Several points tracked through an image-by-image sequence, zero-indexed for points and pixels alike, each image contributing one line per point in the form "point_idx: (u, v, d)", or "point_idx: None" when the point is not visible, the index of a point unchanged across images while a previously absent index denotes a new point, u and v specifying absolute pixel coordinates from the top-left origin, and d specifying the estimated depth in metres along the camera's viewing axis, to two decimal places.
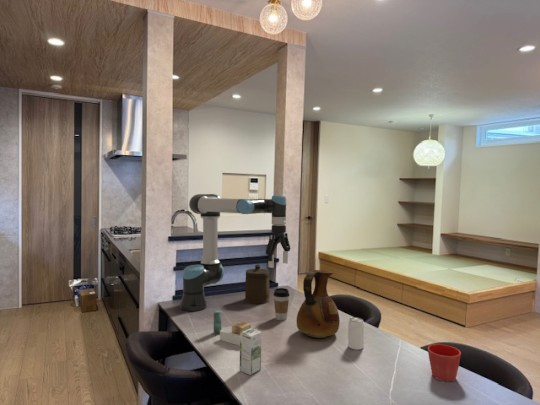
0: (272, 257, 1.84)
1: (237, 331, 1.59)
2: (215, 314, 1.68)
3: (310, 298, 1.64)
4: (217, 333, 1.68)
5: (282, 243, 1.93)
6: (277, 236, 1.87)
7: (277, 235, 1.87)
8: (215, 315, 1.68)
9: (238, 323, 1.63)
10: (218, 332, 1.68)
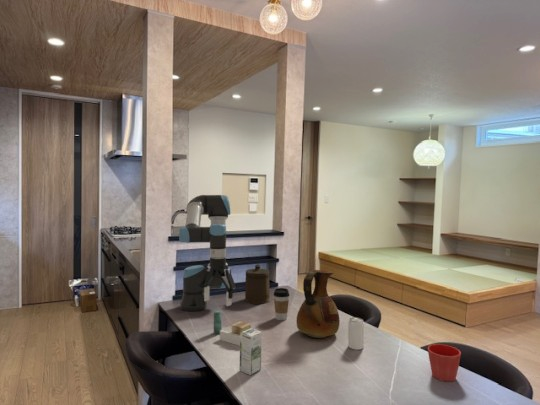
0: None
1: (237, 331, 1.59)
2: (215, 314, 1.68)
3: (310, 298, 1.64)
4: (217, 333, 1.68)
5: None
6: (211, 269, 1.69)
7: (211, 268, 1.69)
8: (215, 315, 1.68)
9: (238, 323, 1.63)
10: (218, 332, 1.68)
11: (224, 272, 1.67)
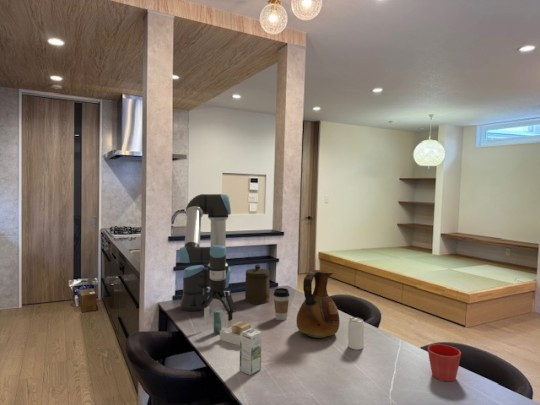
0: None
1: (237, 331, 1.59)
2: (215, 314, 1.68)
3: (310, 298, 1.64)
4: (217, 333, 1.68)
5: None
6: (211, 290, 1.69)
7: (211, 289, 1.69)
8: (215, 315, 1.68)
9: (238, 323, 1.63)
10: (218, 332, 1.68)
11: (224, 294, 1.67)
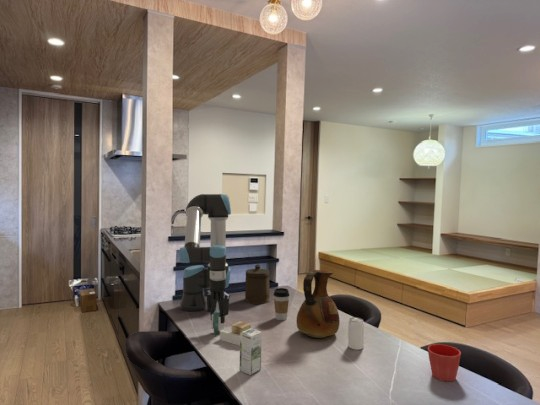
0: (212, 317, 1.70)
1: (237, 331, 1.59)
2: (215, 314, 1.68)
3: (310, 298, 1.64)
4: (217, 333, 1.68)
5: None
6: (211, 290, 1.69)
7: (211, 289, 1.70)
8: (215, 315, 1.68)
9: (238, 323, 1.63)
10: (218, 332, 1.68)
11: None
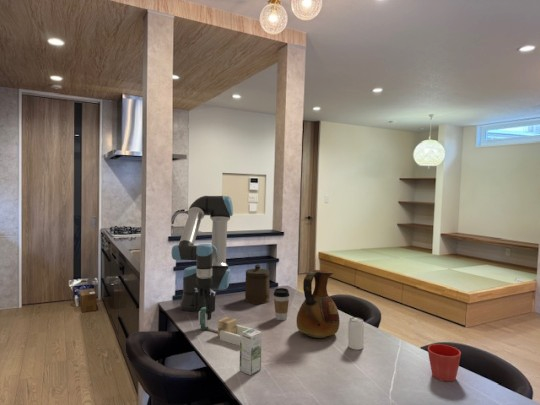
0: (199, 314, 1.75)
1: (223, 327, 1.64)
2: (202, 310, 1.72)
3: (310, 298, 1.64)
4: (204, 329, 1.73)
5: None
6: (198, 288, 1.74)
7: (198, 286, 1.75)
8: (202, 311, 1.72)
9: (224, 319, 1.68)
10: (205, 328, 1.73)
11: None
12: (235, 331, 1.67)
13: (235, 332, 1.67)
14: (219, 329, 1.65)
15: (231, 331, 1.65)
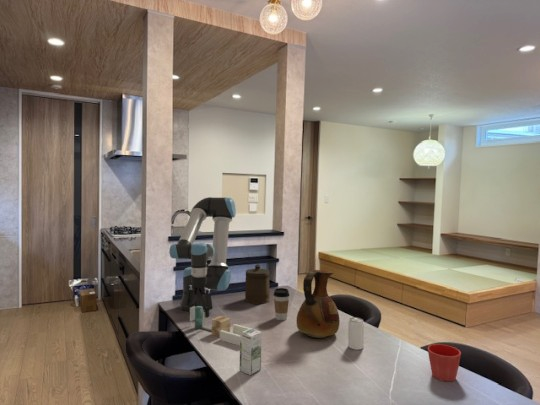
0: (190, 310, 1.77)
1: (217, 326, 1.66)
2: (196, 309, 1.74)
3: (310, 298, 1.64)
4: (198, 327, 1.74)
5: None
6: (193, 286, 1.76)
7: (193, 285, 1.76)
8: (196, 310, 1.74)
9: (218, 318, 1.70)
10: (199, 326, 1.74)
11: None
12: (229, 330, 1.69)
13: (229, 331, 1.69)
14: (213, 328, 1.67)
15: (224, 330, 1.66)
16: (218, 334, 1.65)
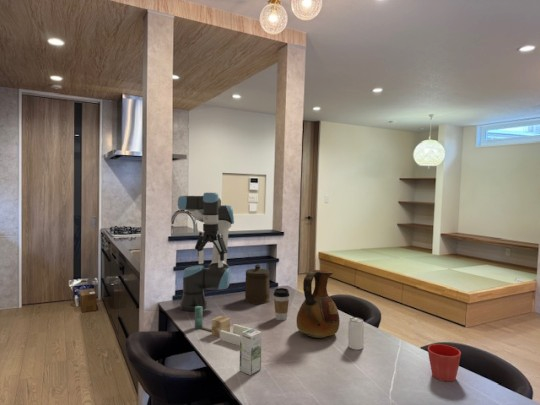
0: (199, 253, 1.86)
1: (217, 326, 1.66)
2: (196, 309, 1.74)
3: (310, 298, 1.64)
4: (198, 327, 1.74)
5: None
6: (205, 234, 1.83)
7: (205, 233, 1.82)
8: (196, 310, 1.74)
9: (218, 318, 1.70)
10: (199, 326, 1.74)
11: (216, 237, 1.80)
12: (229, 330, 1.69)
13: (229, 331, 1.69)
14: (213, 328, 1.67)
15: (224, 330, 1.66)
16: (218, 334, 1.65)
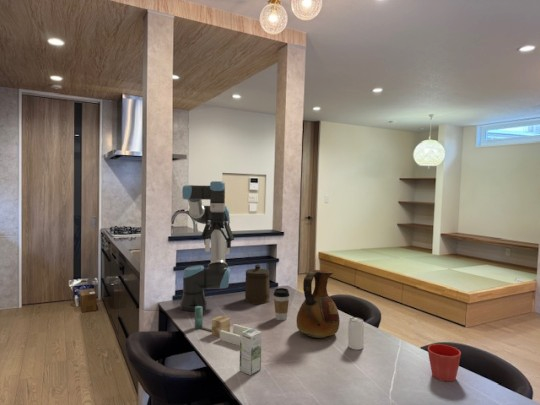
0: None
1: (217, 326, 1.66)
2: (196, 309, 1.74)
3: (310, 298, 1.64)
4: (198, 327, 1.74)
5: None
6: (211, 222, 1.86)
7: (211, 221, 1.86)
8: (196, 310, 1.74)
9: (218, 318, 1.70)
10: (199, 326, 1.74)
11: (223, 224, 1.84)
12: (229, 330, 1.69)
13: (229, 331, 1.69)
14: (213, 328, 1.67)
15: (224, 330, 1.66)
16: (218, 334, 1.65)
